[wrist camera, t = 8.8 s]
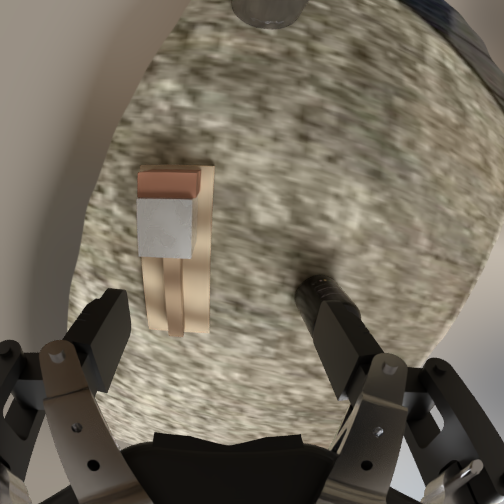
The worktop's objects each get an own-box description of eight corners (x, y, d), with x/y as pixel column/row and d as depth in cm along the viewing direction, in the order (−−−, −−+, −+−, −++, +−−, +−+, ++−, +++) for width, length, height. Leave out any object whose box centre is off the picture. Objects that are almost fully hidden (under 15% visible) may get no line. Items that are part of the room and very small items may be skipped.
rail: (143, 164, 31) (124, 167, 24) (214, 165, 32) (212, 168, 25) (151, 323, 38) (140, 352, 32) (209, 327, 39) (208, 358, 33)
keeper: (151, 190, 30) (136, 198, 24) (198, 191, 31) (192, 199, 25) (152, 239, 32) (138, 256, 26) (196, 240, 33) (191, 258, 27)
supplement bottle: (333, 312, 41) (365, 361, 30) (291, 314, 40) (314, 369, 29) (341, 272, 38) (380, 316, 27) (297, 273, 38) (325, 321, 26)
